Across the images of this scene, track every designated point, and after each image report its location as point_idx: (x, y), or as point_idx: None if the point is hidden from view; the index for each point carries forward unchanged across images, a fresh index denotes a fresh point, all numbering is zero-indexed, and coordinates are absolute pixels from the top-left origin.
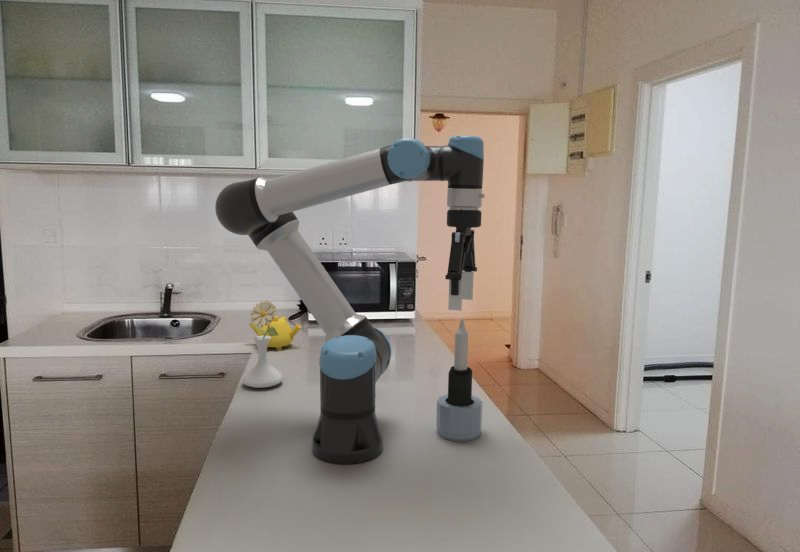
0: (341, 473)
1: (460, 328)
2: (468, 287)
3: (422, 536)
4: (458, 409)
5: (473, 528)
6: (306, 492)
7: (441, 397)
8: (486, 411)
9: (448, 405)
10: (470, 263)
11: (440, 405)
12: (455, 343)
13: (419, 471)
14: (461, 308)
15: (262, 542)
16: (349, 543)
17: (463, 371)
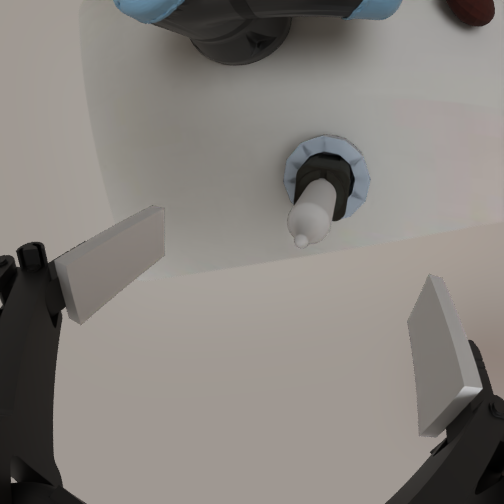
0: (176, 41)
1: (294, 225)
2: (424, 346)
3: (104, 151)
4: (284, 176)
5: (121, 190)
6: (138, 30)
7: (341, 144)
8: (421, 224)
9: (299, 158)
10: (408, 484)
11: (300, 143)
12: (304, 195)
13: (197, 124)
14: (158, 257)
15: (82, 45)
16: (88, 101)
17: (297, 200)
